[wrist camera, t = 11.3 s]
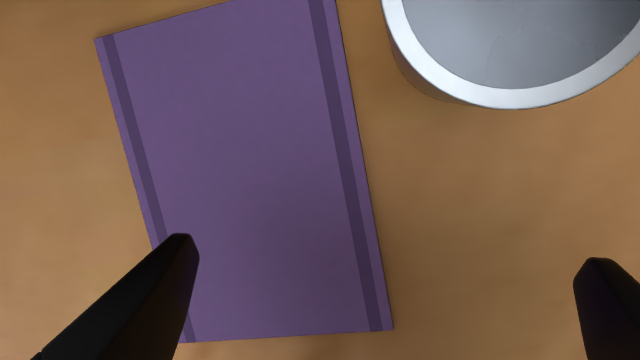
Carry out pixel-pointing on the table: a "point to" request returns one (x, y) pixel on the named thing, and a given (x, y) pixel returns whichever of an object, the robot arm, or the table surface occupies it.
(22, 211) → the table surface
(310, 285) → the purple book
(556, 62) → the grey tall hollow container
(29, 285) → the table surface
